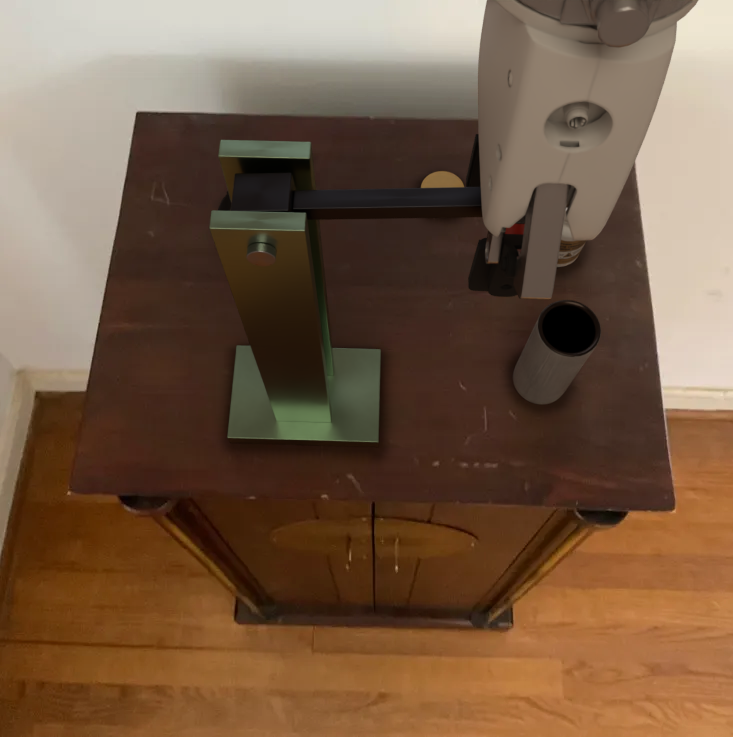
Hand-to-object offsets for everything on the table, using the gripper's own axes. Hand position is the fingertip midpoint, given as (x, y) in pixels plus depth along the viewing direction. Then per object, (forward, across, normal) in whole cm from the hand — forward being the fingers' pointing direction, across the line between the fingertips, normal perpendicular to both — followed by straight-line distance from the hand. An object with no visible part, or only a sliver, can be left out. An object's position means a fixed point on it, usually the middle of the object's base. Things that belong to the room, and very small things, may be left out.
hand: (497, 234), depth 39 cm
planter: (+26, +2, -8) cm, 27 cm away
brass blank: (+26, +20, 0) cm, 33 cm away
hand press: (+26, 0, +11) cm, 28 cm away
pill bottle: (+26, +15, -10) cm, 32 cm away
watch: (+26, +18, +17) cm, 36 cm away
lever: (-1, 0, +6) cm, 6 cm away
